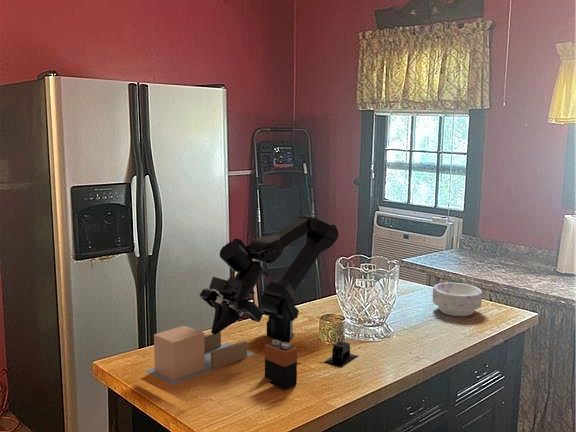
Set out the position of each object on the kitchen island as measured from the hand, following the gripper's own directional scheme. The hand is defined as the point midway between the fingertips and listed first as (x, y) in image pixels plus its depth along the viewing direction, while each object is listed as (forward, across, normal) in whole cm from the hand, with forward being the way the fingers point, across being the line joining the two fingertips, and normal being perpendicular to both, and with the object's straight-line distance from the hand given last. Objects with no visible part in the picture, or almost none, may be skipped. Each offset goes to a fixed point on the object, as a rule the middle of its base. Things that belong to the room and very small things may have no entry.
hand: (213, 333), depth 153 cm
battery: (+4, +20, +8) cm, 22 cm away
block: (+12, 0, -3) cm, 12 cm away
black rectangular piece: (-11, +22, +23) cm, 34 cm away
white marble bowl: (-50, +24, +64) cm, 85 cm away
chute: (+8, 0, +3) cm, 8 cm away
